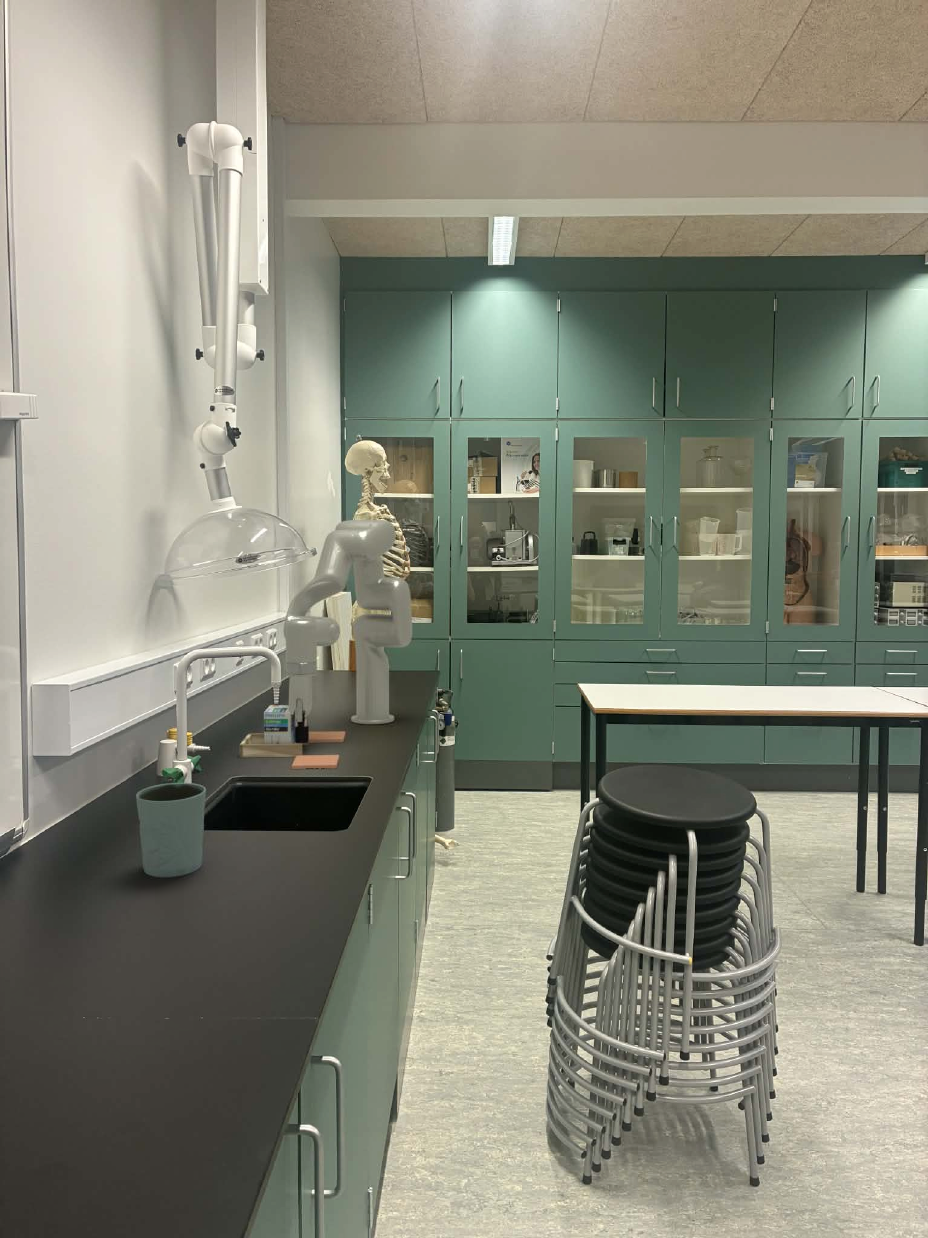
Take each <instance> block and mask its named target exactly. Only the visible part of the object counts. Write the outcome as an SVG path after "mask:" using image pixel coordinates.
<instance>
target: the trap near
mask: <svg viewBox="0 0 928 1238" xmlns="http://www.w3.org/2000/svg"><path fill="white" fill-rule="evenodd" d="M339 760H340V755H339V754H324V755H323V754H321V755H319V754H314V755H309V754H307V755H304V754H302V755H300V756H296V757H294V760H293V763H292V765H291V770H307V769H306V768H314V769H313V770H316V769H315V768H319V770H320V769H321V768H325V769H326V768H327V769H328V770H329V768H330V770H331V769H332V770H333V769H337V767H338V763H339ZM325 769H324V770H325ZM321 770H322V769H321Z"/></svg>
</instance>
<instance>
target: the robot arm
mask: <svg viewBox="0 0 928 1238" xmlns="http://www.w3.org/2000/svg"><path fill="white" fill-rule="evenodd" d="M396 534H397V533H396V528H395V527H394V525H393V523H391V522H390V521H388V520H385V519H351V520H350V519H348V520H343V521H341V522H339V523H338V524H336V526H335V528H334V530H332V531H330V532H329V533H328V534H327V535H326V537H325V540H324V542H323V545H322V550H321V553H320V557H319V560H318V564H317V567H316V570H315V575H314V577H313V578H312V579H311V580H310V581H309V582H307V583H306V584H305V585H304V586H303V587H302V588H301V589H300V590H299V591H298V592H297V593H296V594H295V596H294V597H293V598H292V600H291V601H290V604H289V606H288V609H287V612H286V615H285V619H284V622H283V623H284V624H283V637H284V639H285V676H287V677H289V683H288V684H289V685H288V687H289V688H288V705H289V712H291V715H293V714H294V712H295V725H296V727H295V742H296V743H308V741H309V732H310V728H309V727H310V726H309V715H310V713H311V711H312V707H313V705H312V704H313V677H315V676H317V675H318V666H317V665H318V662H317V661H318V659H317V658H318V657H317V655H318V652H317V651H318V649H317V648H318V647H329V646H333V645H335V643H336V642H337V641H338V640H339V638H340V634H341V629H340V625H339V623H338V621H336V620H335V619H334V618H332V617H328V616H311V615H309V616H308V615H307V613H308V611H309V610H310V609H311V608H312V607H314V606H315V605H316V604H319V602H322V601H324V600H325V599H328V598H331V597H332V596H335V595H337V594H339V593H342V592H343V591H344V590H345V589H346V587H347V583H348V579H349V575H350V572H351V569H352V565H353V574H354V577H353V578H354V590H355V599H356V603H357V606H358V607H359V608H361V609H363V610H370V611H390V613H391V614H384V613H364V614H361V615H359V616H357V618H355V619H354V622H353V624H352V634H353V640H354V645H355V656H356V657H355V661H356V662H355V663H356V667H355V669H356V681H355V682H356V686H355V687H356V692H355V693H356V714H354V715H352V716H351V718H350V719H351V722H352V723H355V724H360V725H361V724H362V725H383V724H389V723H392V722H394V721H395V716H394V715H392V714H390V664H389V663H390V662H389V658H388V656H387V654H386V652H385V651H384V649H383V648H405V647H407V646H409V645H410V643H411V641H412V638H413V617H412V597H411V596H412V595H411V590H410V586H409V584H408V583H407V581H406V580H405V579H404V578H401V577H386V576H385V574H384V571H385V570H384V562H383V560H384V559H383V558H382V555H385V554H386V553H387V552H389V551H390V550H391V548H393V546H394V544H395V541H396ZM308 744H309V743H308Z"/></svg>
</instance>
